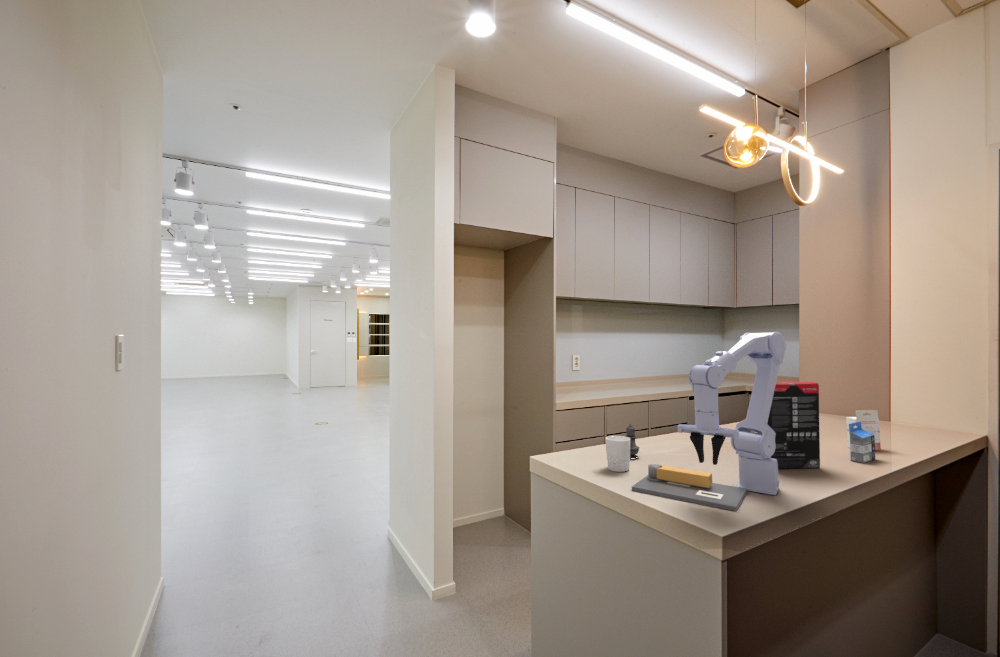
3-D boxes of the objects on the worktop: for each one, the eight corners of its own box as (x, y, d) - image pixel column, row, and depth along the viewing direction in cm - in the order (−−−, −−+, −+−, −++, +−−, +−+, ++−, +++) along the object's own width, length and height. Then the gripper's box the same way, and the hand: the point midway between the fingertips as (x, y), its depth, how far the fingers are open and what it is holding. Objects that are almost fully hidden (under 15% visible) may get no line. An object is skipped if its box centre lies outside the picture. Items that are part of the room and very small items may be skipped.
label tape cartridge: (864, 463, 142) (862, 425, 142) (849, 461, 145) (848, 424, 145) (876, 459, 146) (874, 422, 146) (862, 457, 149) (860, 421, 150)
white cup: (622, 464, 146) (621, 434, 146) (636, 471, 139) (635, 439, 139) (601, 467, 144) (600, 436, 144) (615, 473, 136) (614, 441, 137)
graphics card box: (807, 463, 144) (804, 380, 145) (823, 469, 137) (819, 382, 138) (756, 464, 143) (753, 381, 144) (770, 470, 136) (767, 383, 137)
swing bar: (712, 483, 120) (712, 473, 120) (709, 487, 117) (708, 476, 117) (651, 473, 131) (650, 463, 131) (646, 476, 128) (646, 466, 128)
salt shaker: (637, 460, 151) (636, 425, 151) (620, 458, 154) (619, 424, 154) (641, 456, 156) (640, 422, 156) (625, 454, 159) (624, 421, 159)
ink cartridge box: (869, 447, 162) (867, 408, 162) (881, 450, 157) (879, 410, 157) (846, 448, 162) (845, 408, 162) (857, 451, 157) (856, 410, 157)
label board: (747, 492, 118) (747, 487, 118) (736, 511, 105) (735, 505, 105) (651, 475, 134) (651, 471, 134) (631, 490, 121) (631, 485, 121)
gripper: (673, 410, 115) (675, 462, 115) (734, 415, 106) (736, 471, 106) (681, 407, 121) (682, 456, 120) (739, 411, 112) (741, 464, 111)
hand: (708, 462), depth 114 cm, fingers open, 3 cm apart
